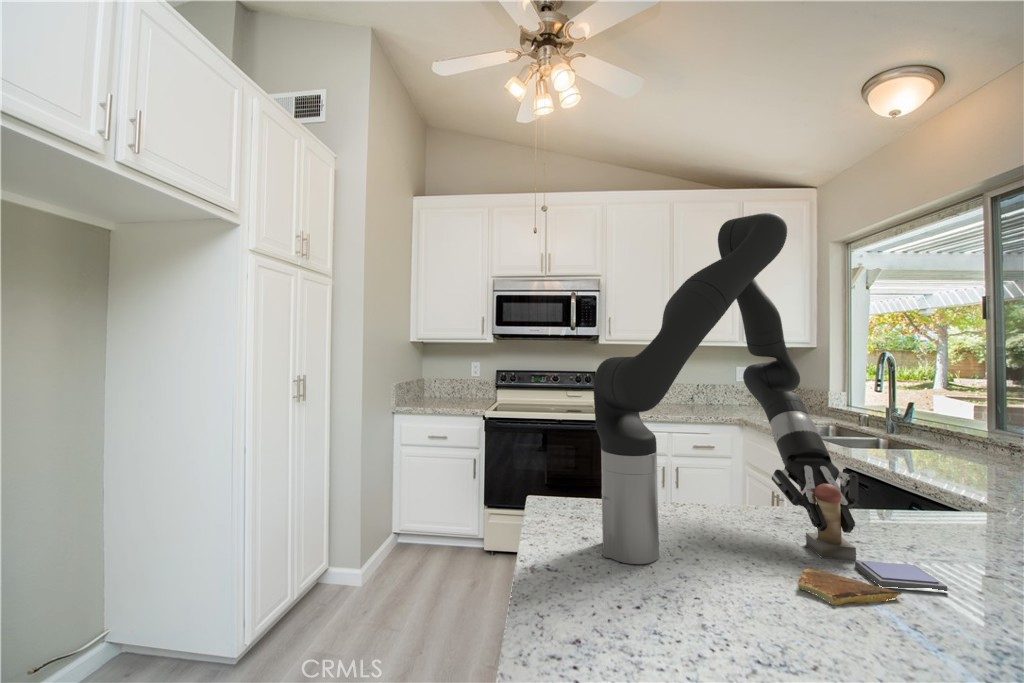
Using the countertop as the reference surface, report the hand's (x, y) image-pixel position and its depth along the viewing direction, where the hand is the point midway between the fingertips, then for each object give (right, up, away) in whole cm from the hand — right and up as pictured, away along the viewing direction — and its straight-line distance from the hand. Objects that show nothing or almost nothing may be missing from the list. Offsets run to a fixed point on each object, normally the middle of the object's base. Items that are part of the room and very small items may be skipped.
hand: (836, 529), depth 68 cm
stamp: (0, -5, +2) cm, 5 cm away
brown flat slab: (-7, -5, -9) cm, 12 cm away
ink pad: (+4, -4, -7) cm, 9 cm away
